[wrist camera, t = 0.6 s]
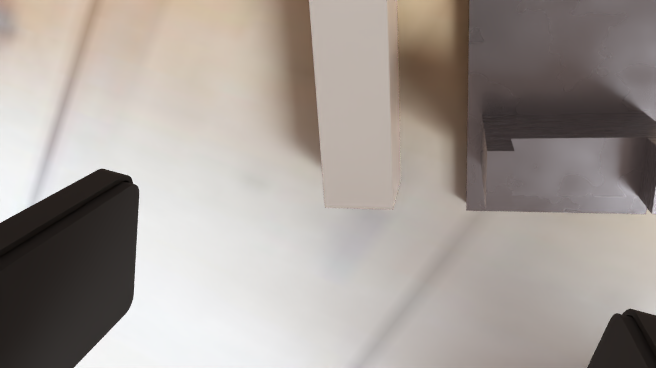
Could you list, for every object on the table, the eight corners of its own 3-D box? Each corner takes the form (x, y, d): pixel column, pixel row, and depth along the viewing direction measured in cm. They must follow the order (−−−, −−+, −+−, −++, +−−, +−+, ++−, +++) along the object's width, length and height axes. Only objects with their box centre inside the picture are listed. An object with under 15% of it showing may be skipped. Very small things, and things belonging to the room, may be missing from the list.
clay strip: (392, -226, 28) (379, -265, 23) (401, 178, 35) (393, 209, 31) (316, -214, 28) (289, -249, 24) (341, 178, 36) (324, 207, 32)
